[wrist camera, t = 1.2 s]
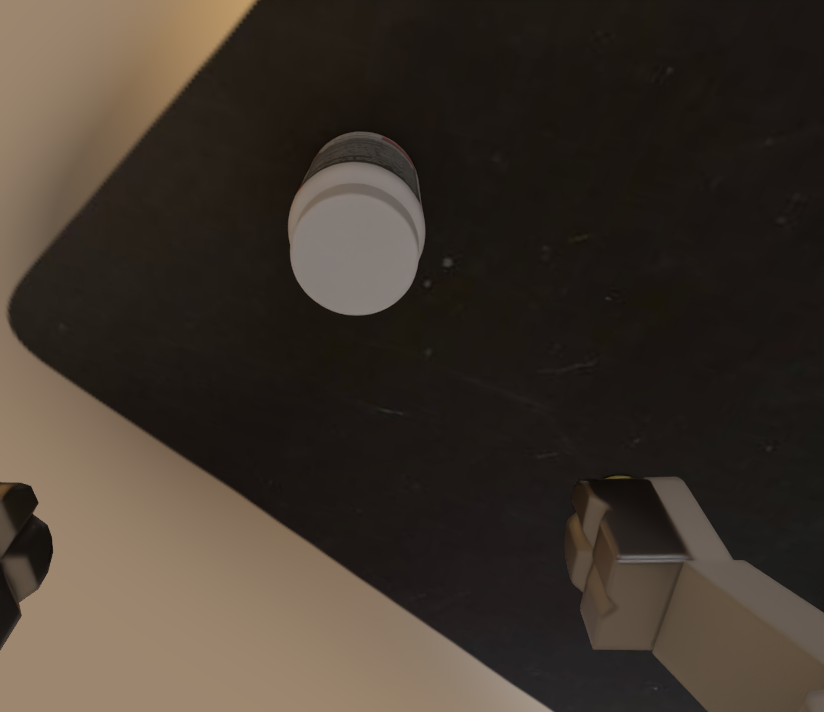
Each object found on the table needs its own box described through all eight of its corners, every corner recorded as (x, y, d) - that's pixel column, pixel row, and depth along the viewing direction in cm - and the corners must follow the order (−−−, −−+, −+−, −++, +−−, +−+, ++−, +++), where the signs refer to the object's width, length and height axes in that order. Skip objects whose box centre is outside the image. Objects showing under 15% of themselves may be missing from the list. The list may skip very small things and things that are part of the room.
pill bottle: (292, 147, 25) (250, 203, 18) (402, 116, 24) (406, 160, 17) (328, 252, 27) (305, 340, 20) (430, 226, 27) (444, 306, 19)
